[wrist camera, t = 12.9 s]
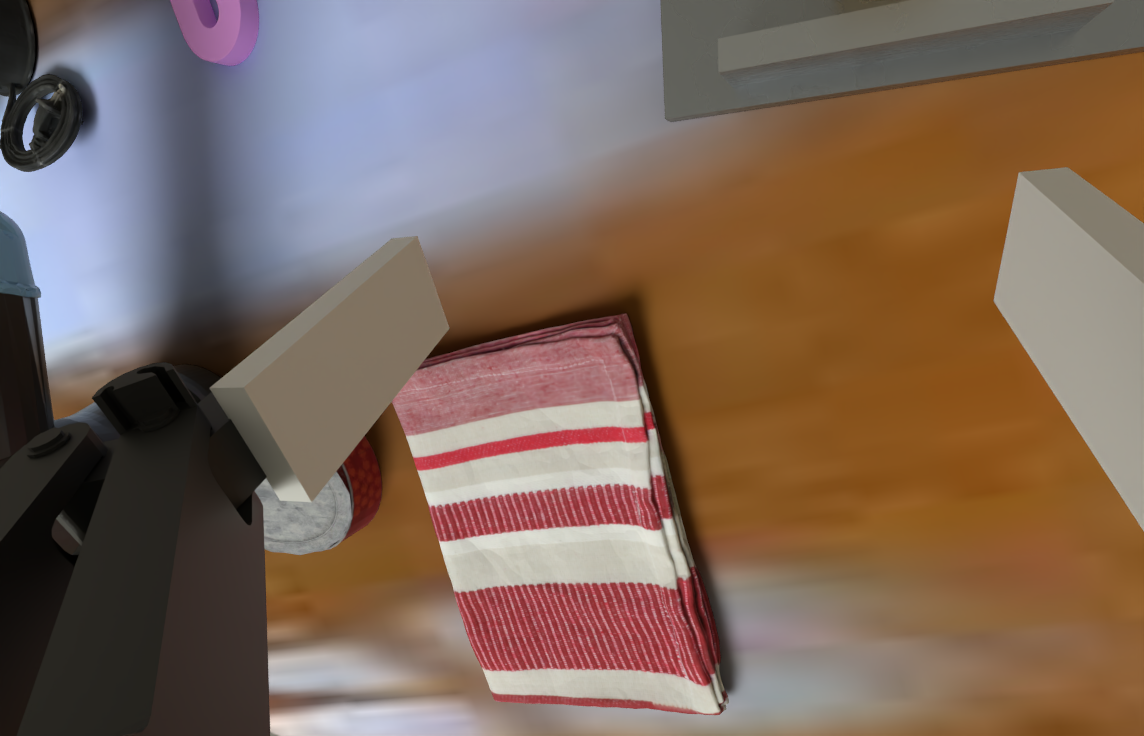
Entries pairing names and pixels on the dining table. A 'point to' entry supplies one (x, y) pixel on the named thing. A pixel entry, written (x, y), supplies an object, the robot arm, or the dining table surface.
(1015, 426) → the dining table surface
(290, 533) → the canned food
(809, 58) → the steel base leaf
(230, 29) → the bracket
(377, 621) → the dining table surface
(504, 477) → the dish towel
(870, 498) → the dining table surface
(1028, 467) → the dining table surface
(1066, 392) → the robot arm
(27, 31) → the milk frother
